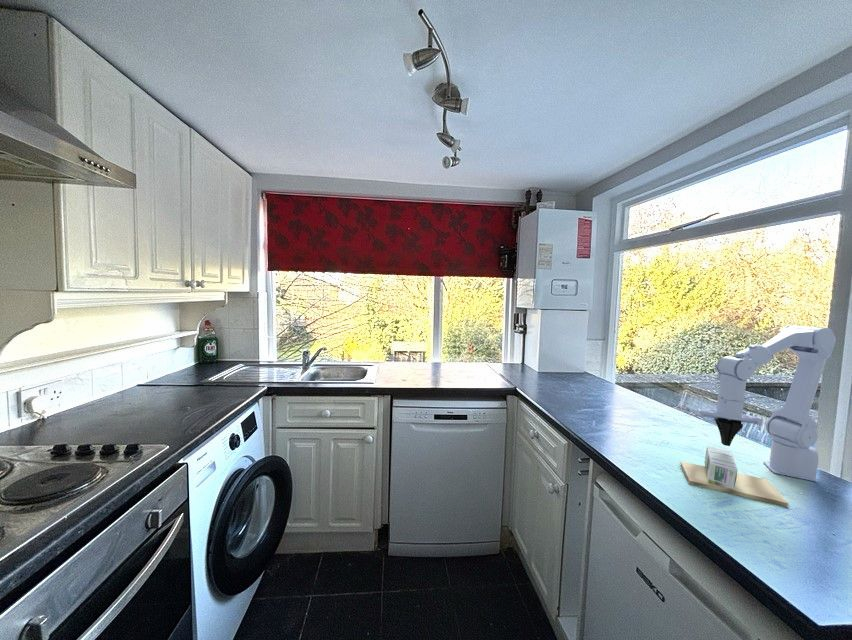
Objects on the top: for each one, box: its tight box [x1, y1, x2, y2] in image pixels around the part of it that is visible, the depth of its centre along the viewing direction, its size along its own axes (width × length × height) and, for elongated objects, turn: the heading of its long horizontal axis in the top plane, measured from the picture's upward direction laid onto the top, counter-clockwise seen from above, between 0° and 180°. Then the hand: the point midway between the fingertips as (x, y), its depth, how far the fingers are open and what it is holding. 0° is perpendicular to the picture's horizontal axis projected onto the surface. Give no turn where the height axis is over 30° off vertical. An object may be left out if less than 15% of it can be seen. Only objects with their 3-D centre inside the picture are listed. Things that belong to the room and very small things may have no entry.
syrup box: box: [704, 445, 739, 490], centre depth 100 cm, size 6×6×14 cm
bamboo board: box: [680, 461, 789, 508], centre depth 98 cm, size 20×13×1 cm, turn 63°
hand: (725, 444), depth 103 cm, fingers closed
